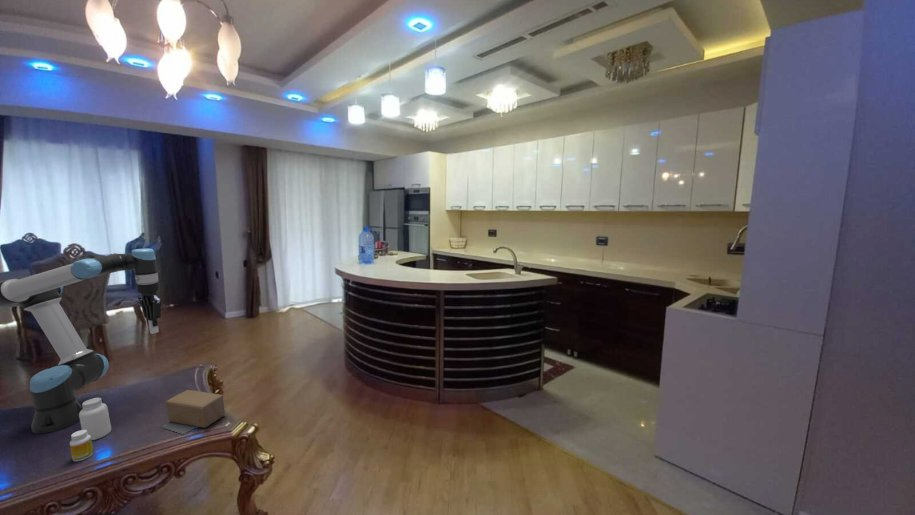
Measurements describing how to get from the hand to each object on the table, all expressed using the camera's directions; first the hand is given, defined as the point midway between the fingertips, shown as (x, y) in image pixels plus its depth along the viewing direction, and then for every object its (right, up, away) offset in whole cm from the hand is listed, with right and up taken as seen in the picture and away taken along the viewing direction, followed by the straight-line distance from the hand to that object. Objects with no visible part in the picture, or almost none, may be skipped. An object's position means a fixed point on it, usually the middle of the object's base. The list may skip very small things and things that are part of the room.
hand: (154, 332), depth 159 cm
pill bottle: (-7, -38, -19) cm, 43 cm away
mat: (+24, -36, -10) cm, 45 cm away
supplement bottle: (0, -40, -31) cm, 50 cm away
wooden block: (+16, -30, -7) cm, 35 cm away
